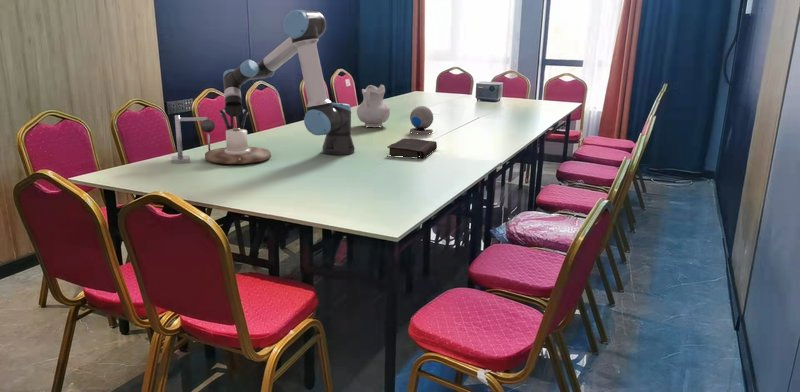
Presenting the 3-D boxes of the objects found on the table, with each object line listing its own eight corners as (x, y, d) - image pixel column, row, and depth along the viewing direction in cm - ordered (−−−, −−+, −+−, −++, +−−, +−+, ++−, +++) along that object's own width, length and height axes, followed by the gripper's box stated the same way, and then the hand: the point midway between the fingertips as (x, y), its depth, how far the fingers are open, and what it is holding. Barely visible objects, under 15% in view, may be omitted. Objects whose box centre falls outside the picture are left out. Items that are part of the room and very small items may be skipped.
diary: (437, 150, 294) (437, 140, 292) (423, 161, 271) (424, 150, 269) (400, 147, 299) (401, 137, 297) (384, 157, 276) (385, 146, 274)
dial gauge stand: (216, 157, 264) (213, 113, 258) (216, 161, 257) (214, 116, 252) (172, 159, 258) (168, 114, 253) (171, 163, 252) (167, 117, 246)
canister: (249, 149, 270) (248, 126, 267) (250, 154, 259) (249, 130, 256) (224, 150, 267) (223, 126, 264) (224, 155, 256) (223, 130, 254)
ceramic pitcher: (387, 132, 341) (391, 88, 334) (353, 128, 341) (357, 84, 334) (388, 126, 362) (392, 84, 355) (356, 122, 362) (360, 81, 355)
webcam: (436, 132, 339) (437, 106, 334) (425, 135, 328) (426, 108, 324) (417, 129, 345) (417, 103, 341) (405, 132, 335) (406, 106, 331)
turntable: (267, 148, 280) (267, 145, 279) (274, 162, 254) (273, 158, 254) (205, 151, 271) (204, 147, 271) (205, 165, 246) (204, 161, 245)
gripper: (247, 104, 283) (251, 145, 272) (218, 104, 279) (221, 146, 269) (247, 94, 276) (251, 136, 266) (218, 94, 273) (221, 137, 262)
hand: (236, 141), depth 267 cm, fingers closed
